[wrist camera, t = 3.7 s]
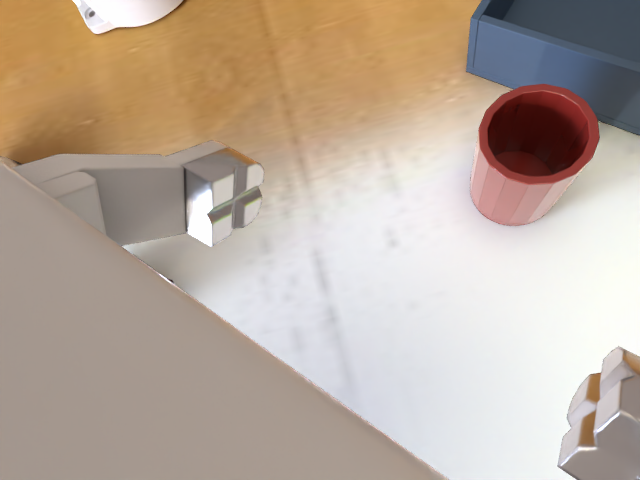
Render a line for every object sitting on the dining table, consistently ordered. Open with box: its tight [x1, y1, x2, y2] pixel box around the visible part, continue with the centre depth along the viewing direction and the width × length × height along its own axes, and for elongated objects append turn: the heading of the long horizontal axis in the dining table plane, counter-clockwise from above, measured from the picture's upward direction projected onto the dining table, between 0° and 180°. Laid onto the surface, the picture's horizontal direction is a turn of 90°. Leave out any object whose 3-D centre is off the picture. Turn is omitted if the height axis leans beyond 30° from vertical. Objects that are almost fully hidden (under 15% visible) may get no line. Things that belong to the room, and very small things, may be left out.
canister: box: [470, 84, 600, 226], centre depth 28 cm, size 6×6×9 cm
